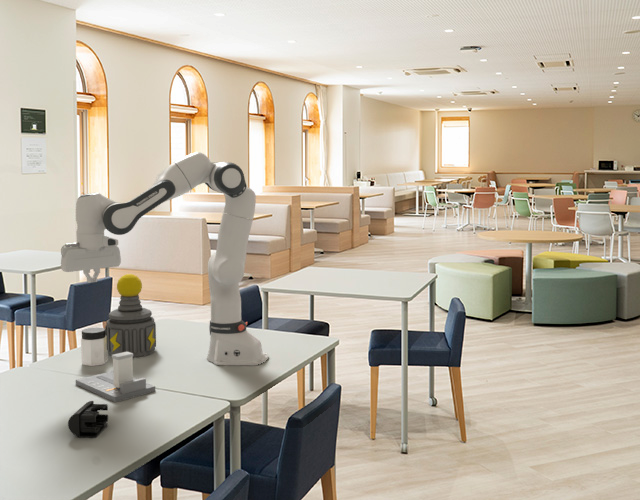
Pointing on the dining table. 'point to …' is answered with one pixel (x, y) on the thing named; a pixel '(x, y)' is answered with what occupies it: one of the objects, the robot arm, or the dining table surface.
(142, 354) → the decorative lamp
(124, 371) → the fader tab
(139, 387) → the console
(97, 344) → the jar
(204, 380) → the dining table surface
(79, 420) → the end cap
